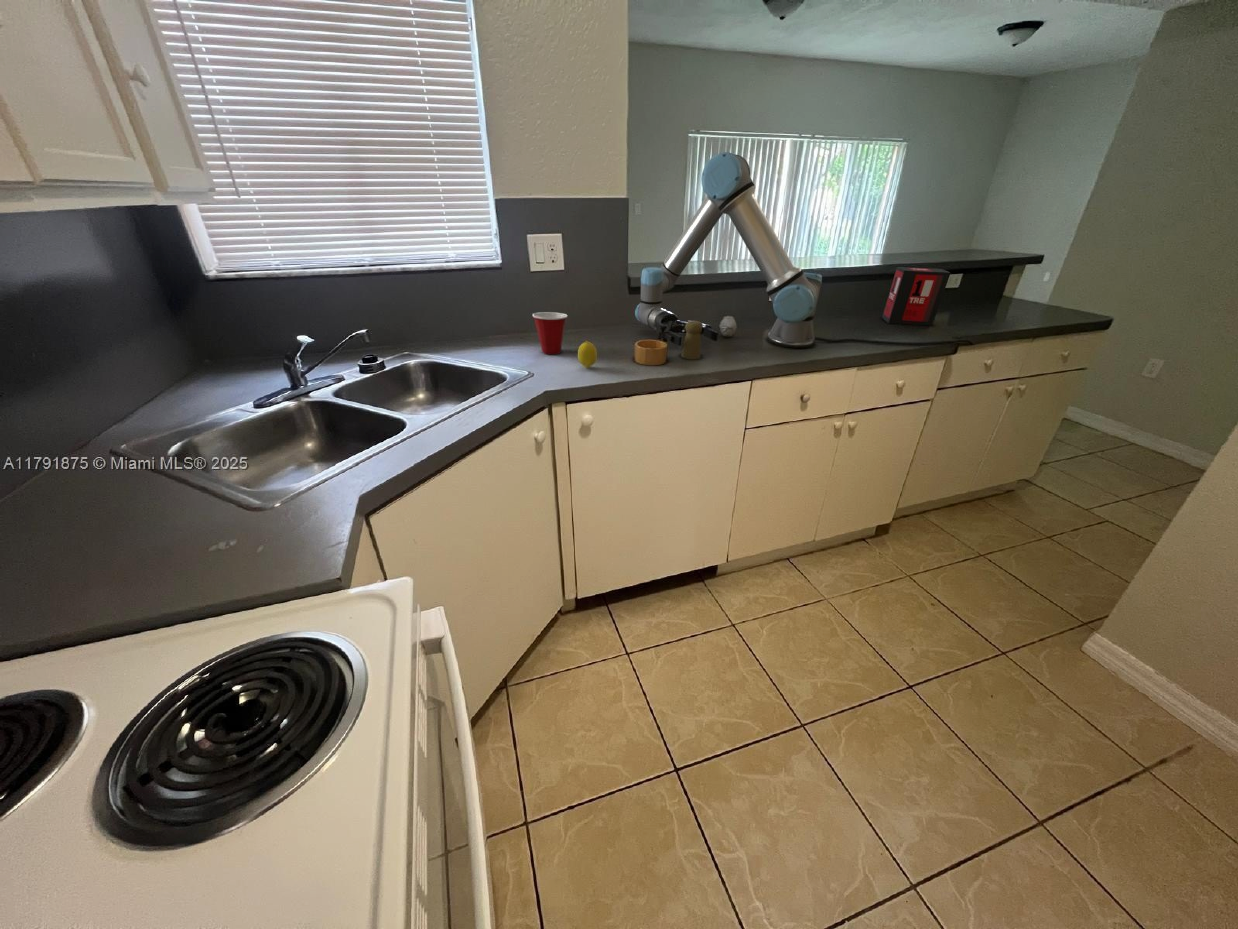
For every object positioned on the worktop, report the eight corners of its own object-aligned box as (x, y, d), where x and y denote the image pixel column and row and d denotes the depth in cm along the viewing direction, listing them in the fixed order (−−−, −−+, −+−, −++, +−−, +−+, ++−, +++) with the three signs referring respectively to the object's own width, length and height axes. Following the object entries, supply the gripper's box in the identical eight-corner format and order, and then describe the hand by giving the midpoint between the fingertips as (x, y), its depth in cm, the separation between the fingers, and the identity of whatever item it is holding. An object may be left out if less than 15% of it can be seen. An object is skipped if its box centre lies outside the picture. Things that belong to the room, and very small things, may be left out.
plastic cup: (574, 348, 159) (573, 311, 153) (560, 358, 150) (558, 319, 144) (544, 344, 162) (542, 308, 155) (528, 354, 153) (525, 315, 147)
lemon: (582, 372, 140) (582, 345, 136) (575, 366, 144) (574, 339, 140) (600, 369, 142) (600, 342, 138) (592, 363, 146) (591, 337, 142)
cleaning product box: (924, 320, 201) (941, 268, 191) (932, 325, 194) (950, 272, 183) (881, 317, 203) (896, 266, 193) (888, 323, 196) (904, 270, 186)
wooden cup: (667, 356, 154) (669, 340, 151) (664, 366, 146) (665, 350, 143) (637, 353, 155) (638, 338, 153) (632, 363, 147) (632, 347, 145)
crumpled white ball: (732, 333, 178) (735, 314, 174) (737, 339, 172) (740, 319, 168) (716, 333, 178) (718, 314, 174) (720, 339, 172) (723, 319, 168)
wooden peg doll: (699, 353, 157) (703, 319, 151) (700, 359, 152) (704, 324, 146) (681, 352, 157) (684, 318, 152) (681, 358, 152) (684, 323, 147)
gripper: (693, 329, 172) (729, 346, 155) (631, 336, 162) (663, 355, 146) (695, 307, 168) (733, 322, 151) (631, 313, 159) (664, 330, 142)
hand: (698, 338), depth 149 cm, fingers open, 12 cm apart
